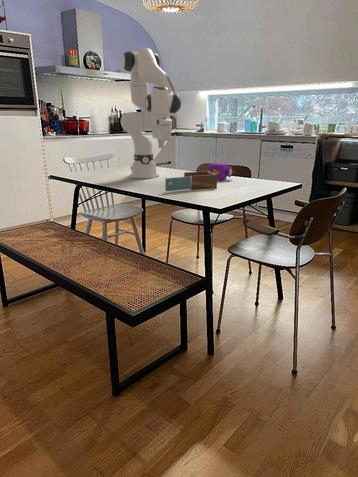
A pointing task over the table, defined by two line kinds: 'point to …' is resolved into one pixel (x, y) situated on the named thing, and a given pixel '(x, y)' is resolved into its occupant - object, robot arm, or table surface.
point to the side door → (178, 183)
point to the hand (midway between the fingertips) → (161, 148)
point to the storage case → (202, 179)
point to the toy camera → (220, 170)
